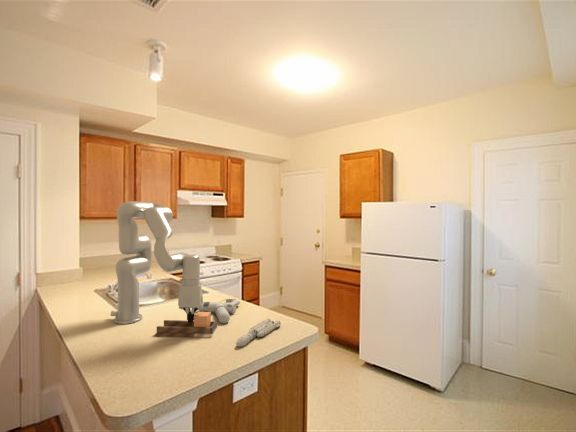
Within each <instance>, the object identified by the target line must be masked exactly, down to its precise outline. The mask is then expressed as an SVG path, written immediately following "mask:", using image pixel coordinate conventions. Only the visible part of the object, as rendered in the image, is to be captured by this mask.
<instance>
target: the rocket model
mask: <svg viewBox="0 0 576 432" xmlns="http://www.w3.org/2000/svg"><path fill="white" fill-rule="evenodd" d="M281 325H282V324H281V322H280V320H275V322H274V321H273V320H272V321H271V319H270V318H266V319H265V320H262V321H261V322H259V323H257V324H256V325H254V326H253V327H250V328H249V329H248V332H247V334H244V335H242V336H240V337H238V338H237V340H236V342H235V345H236V347H239V348H242V347H244V346H246V345H247V344H249V343H250V342H251V341H252V340H254V339H255V338H256V337H257V338H261V337H265V336H266V335H268V334H269V333H271V332H272V331H273V330H275V329H277V328H279V327H280V326H281Z"/></svg>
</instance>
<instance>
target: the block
mask: <svg viewBox="0 0 576 432" xmlns="http://www.w3.org/2000/svg"><path fill="white" fill-rule="evenodd" d="M193 321H194V327H211V321H212V312H200V311H196V313H195V316H194V320H193Z"/></svg>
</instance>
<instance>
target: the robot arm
mask: <svg viewBox="0 0 576 432" xmlns="http://www.w3.org/2000/svg"><path fill="white" fill-rule="evenodd" d="M173 218H174V214H173V211H172V209H170V208H169V207H168V206H164V205H161V204H158V203H156V202H152V201H151V202H150V201H137V200H133V201H126V202H123V203H121V204H120V205H119V206H118V208H117V210H116V220H117V224H118V250H119V252H120V254H122V255H127V256H126V257H123V258H121V259H119V260H118V261H117V262H116V264H115V274H116V277H117V310H112V311H110V317H115V318H114V319H113V322H114V324H118V325H129V324H133V323H137V322H139V321H141V320H142V319H143V315H142V313H141V314H140V283H139V280H138V278H137V277H136V276H137V275H141V274H145V273H147V272H149V271H150V269H151V267H152V261H153V260H152V259H153V256H152V254H153V253H154V254H153V255H154V258H155V259H156V261H157V263H158V265H159V266H160V268H161V269H162V270H163V271H164V272H166V273H167V272H168V273H170V272H174V271H180V270H182V276H181V277H182V278H180V279H179V283H181V284H180V286H179V292H178V299H177V300H178V301H177V303H178V304H177V305H178V309H180V310H183V311H184V312H185V314H186V321H188V323H189V322H190V323H192V322H193V321H194V316H195V315H196V313H197V312H198V311H200V309H202V308H203V306H202V303H203V302H204V301H203V299H204V298H203V289H202V284H201V283H200V282H201V281H200V279H201V277H200V275H201V272H200V271H201V269H200V267H201V258H200V256H199V255H198V254H189V253H185V252H179V253H178V252H177V253H172V254H170V252H169V251H168V249H167V244H166V243H167V240H169V239H170V238H171V237H172V236H173V234H174V232H173V230H172V229H173V228H172V227H171V226H170V222H172V221H173ZM135 219H144V220H145V222H146V225H147V227H148V228H149V230H150V232H151V233H152V236H153V238H154V245H153V250H152V242H151V241H152V240H151V239H150V237H149V236H148V235H145V234H139V229H138V228H139V227H138V225H137V222H136V221H135ZM152 251H153V253H152ZM135 254H136V255H135ZM128 255H132V256H128ZM133 255H134V256H133Z"/></svg>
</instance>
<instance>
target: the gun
mask: <svg viewBox="0 0 576 432" xmlns="http://www.w3.org/2000/svg"><path fill="white" fill-rule="evenodd" d="M224 301H225V302H224ZM239 305H241V300H240V298H225V299H223V300H221V301H219V302H213V301H203V303H202V306H203V308H202V309H200V310H199V312H211V314H212V313H215V315H216V317H217V320H218V321H219V322H220V323H221V324H227V323H228V322H229V321H230V317H231V316H230V315H234V314H235V313H237V307H238V306H239Z"/></svg>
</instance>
